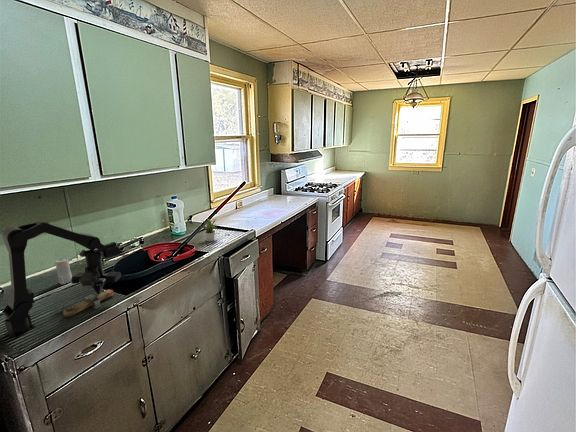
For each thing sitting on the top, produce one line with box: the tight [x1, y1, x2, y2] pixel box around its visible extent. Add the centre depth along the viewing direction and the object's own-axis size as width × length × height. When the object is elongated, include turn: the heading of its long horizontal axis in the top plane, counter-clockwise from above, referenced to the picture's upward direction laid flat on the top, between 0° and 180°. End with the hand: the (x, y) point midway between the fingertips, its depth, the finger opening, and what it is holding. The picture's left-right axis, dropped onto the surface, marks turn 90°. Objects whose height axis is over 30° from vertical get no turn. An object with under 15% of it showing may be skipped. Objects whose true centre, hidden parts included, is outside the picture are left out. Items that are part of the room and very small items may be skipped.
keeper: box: [85, 294, 101, 310], centre depth 130 cm, size 2×7×4 cm, turn 58°
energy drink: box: [54, 257, 73, 285], centre depth 150 cm, size 5×5×12 cm
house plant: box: [199, 217, 218, 242], centre depth 209 cm, size 14×14×16 cm
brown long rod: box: [62, 288, 115, 318], centre depth 129 cm, size 20×4×3 cm, turn 154°
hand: (99, 294), depth 136 cm, fingers closed
